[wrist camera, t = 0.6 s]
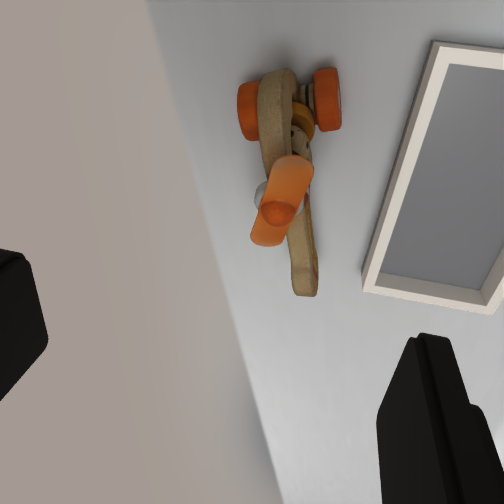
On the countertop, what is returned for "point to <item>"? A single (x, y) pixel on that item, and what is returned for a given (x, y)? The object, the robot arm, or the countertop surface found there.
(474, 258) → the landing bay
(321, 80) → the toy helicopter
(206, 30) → the countertop surface
